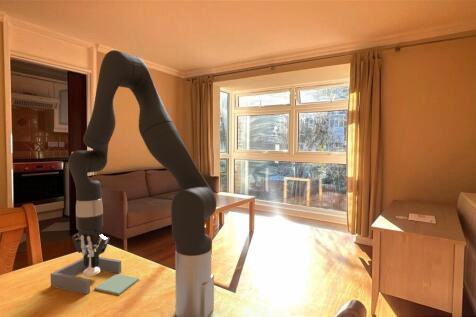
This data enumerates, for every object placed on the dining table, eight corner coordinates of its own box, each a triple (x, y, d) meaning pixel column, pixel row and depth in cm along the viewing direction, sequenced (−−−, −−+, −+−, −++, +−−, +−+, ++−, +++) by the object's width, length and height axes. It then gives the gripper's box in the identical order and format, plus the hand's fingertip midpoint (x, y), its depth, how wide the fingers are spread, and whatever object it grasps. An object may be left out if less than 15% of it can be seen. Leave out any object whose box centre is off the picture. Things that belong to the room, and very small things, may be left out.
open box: (121, 271, 94) (121, 260, 93) (86, 294, 80) (86, 281, 80) (89, 265, 98) (88, 255, 97) (50, 286, 84) (50, 273, 84)
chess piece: (92, 276, 85) (91, 245, 85) (79, 275, 86) (78, 244, 86) (103, 269, 90) (102, 239, 90) (90, 268, 91) (89, 238, 91)
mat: (139, 280, 88) (139, 278, 88) (119, 295, 80) (119, 293, 80) (116, 275, 91) (116, 273, 91) (94, 289, 82) (94, 287, 82)
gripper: (116, 211, 89) (117, 264, 90) (82, 208, 93) (84, 258, 94) (98, 218, 81) (99, 274, 83) (62, 214, 86) (64, 268, 87)
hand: (91, 265), depth 88 cm, fingers closed on chess piece
